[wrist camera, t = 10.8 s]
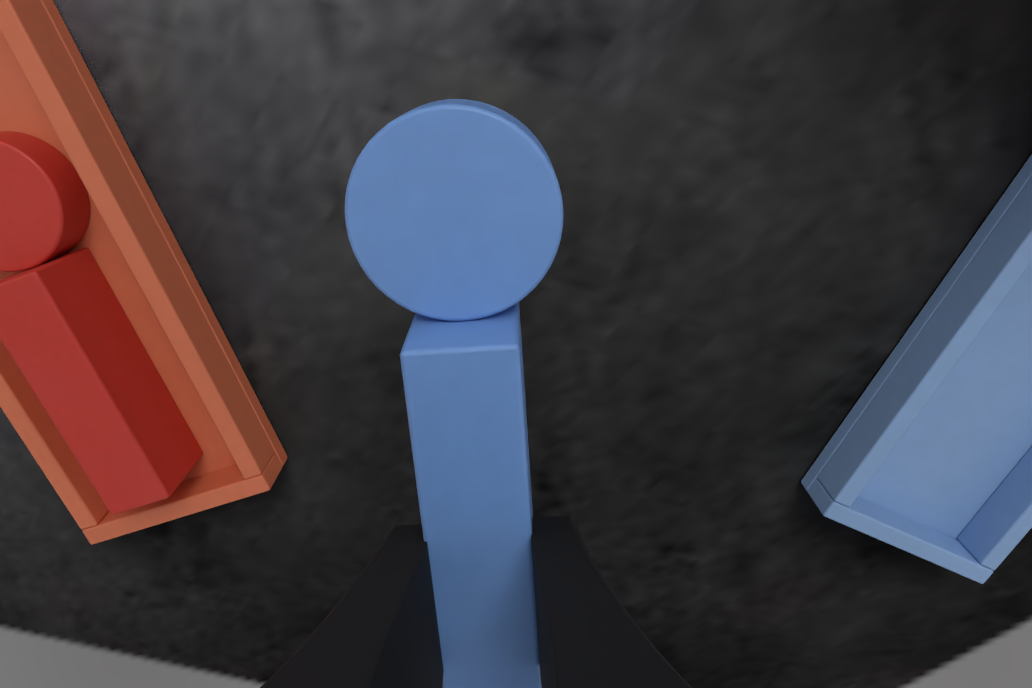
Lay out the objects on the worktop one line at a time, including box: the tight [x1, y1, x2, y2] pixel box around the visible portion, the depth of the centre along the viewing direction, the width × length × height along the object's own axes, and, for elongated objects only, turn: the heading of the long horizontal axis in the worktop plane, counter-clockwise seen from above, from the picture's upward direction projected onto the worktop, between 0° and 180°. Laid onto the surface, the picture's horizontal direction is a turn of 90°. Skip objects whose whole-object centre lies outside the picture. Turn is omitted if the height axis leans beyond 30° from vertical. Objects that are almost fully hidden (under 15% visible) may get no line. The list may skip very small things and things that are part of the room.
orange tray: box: [0, 0, 287, 544], centre depth 18 cm, size 14×5×2 cm, turn 19°
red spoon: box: [0, 131, 203, 515], centre depth 17 cm, size 9×3×2 cm, turn 19°
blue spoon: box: [345, 99, 563, 688], centre depth 11 cm, size 9×3×2 cm, turn 4°
